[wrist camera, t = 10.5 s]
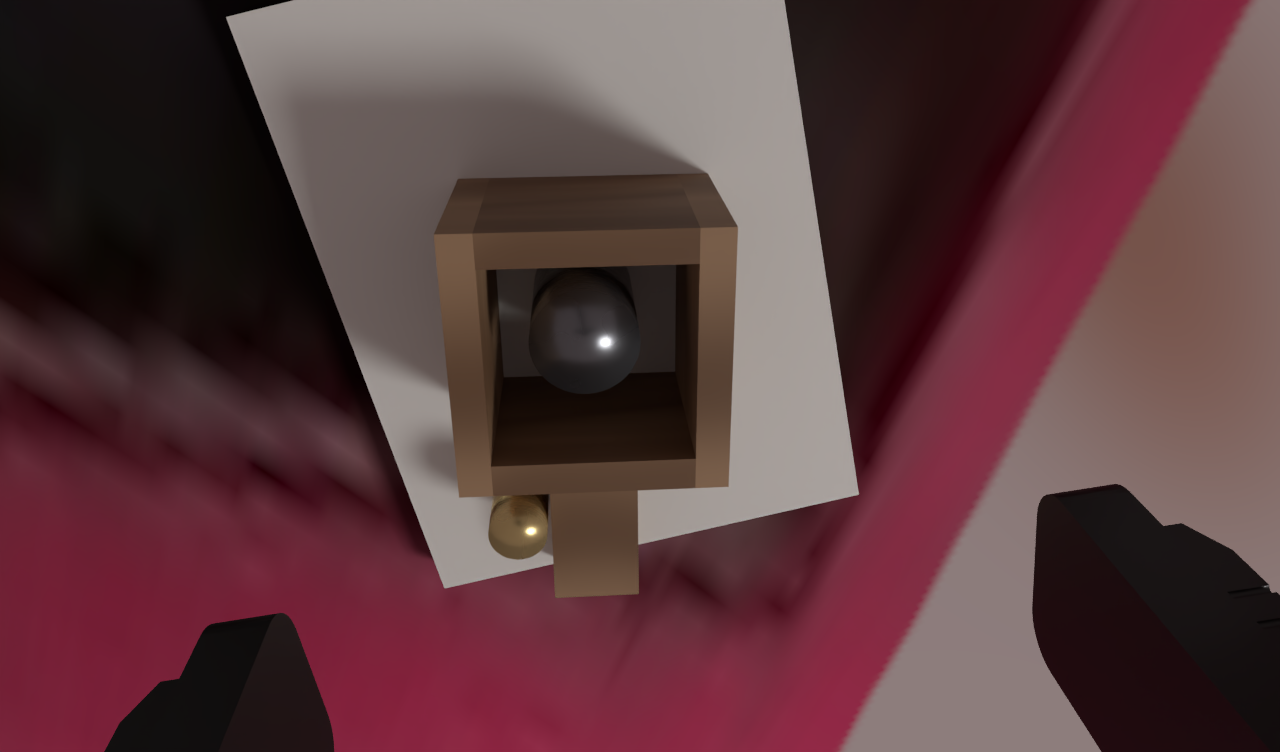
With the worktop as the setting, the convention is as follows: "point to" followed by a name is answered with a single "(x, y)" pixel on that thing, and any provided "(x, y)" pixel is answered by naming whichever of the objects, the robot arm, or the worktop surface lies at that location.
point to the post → (583, 327)
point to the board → (553, 147)
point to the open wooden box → (604, 421)
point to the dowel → (519, 525)
